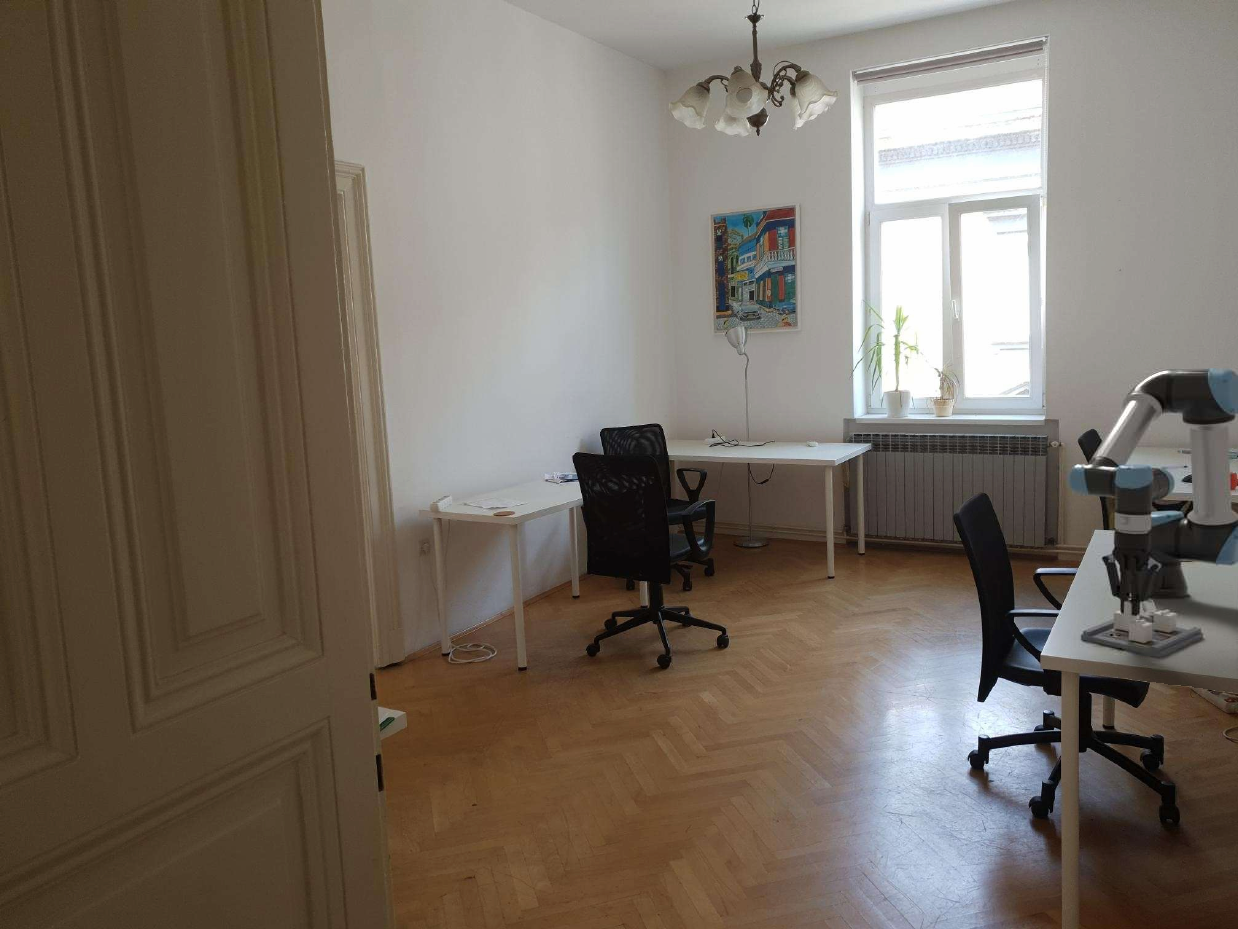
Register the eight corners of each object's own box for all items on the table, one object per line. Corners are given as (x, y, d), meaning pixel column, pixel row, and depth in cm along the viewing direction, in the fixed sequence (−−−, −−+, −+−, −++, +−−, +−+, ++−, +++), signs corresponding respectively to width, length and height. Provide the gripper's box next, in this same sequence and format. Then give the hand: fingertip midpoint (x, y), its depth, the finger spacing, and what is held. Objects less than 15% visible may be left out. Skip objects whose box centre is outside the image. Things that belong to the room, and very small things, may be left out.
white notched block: (1160, 626, 220) (1160, 608, 220) (1176, 629, 217) (1176, 611, 217) (1153, 629, 218) (1153, 610, 218) (1169, 632, 215) (1169, 614, 215)
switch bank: (1125, 621, 230) (1126, 613, 230) (1203, 637, 215) (1203, 628, 215) (1080, 639, 218) (1081, 630, 218) (1159, 657, 203) (1159, 648, 203)
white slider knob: (1120, 625, 222) (1121, 607, 222) (1136, 628, 219) (1136, 610, 219) (1113, 628, 220) (1114, 610, 220) (1128, 631, 217) (1129, 613, 217)
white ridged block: (1136, 636, 214) (1136, 617, 213) (1152, 639, 211) (1152, 620, 210) (1128, 639, 212) (1129, 620, 211) (1144, 643, 209) (1145, 624, 208)
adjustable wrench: (1140, 603, 246) (1141, 597, 246) (1168, 606, 242) (1168, 600, 242) (1139, 622, 224) (1139, 615, 224) (1168, 626, 221) (1169, 619, 221)
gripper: (1096, 529, 213) (1093, 624, 216) (1154, 536, 203) (1150, 637, 205) (1112, 524, 217) (1109, 618, 220) (1169, 532, 207) (1166, 630, 210)
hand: (1129, 627), depth 213 cm, fingers closed
